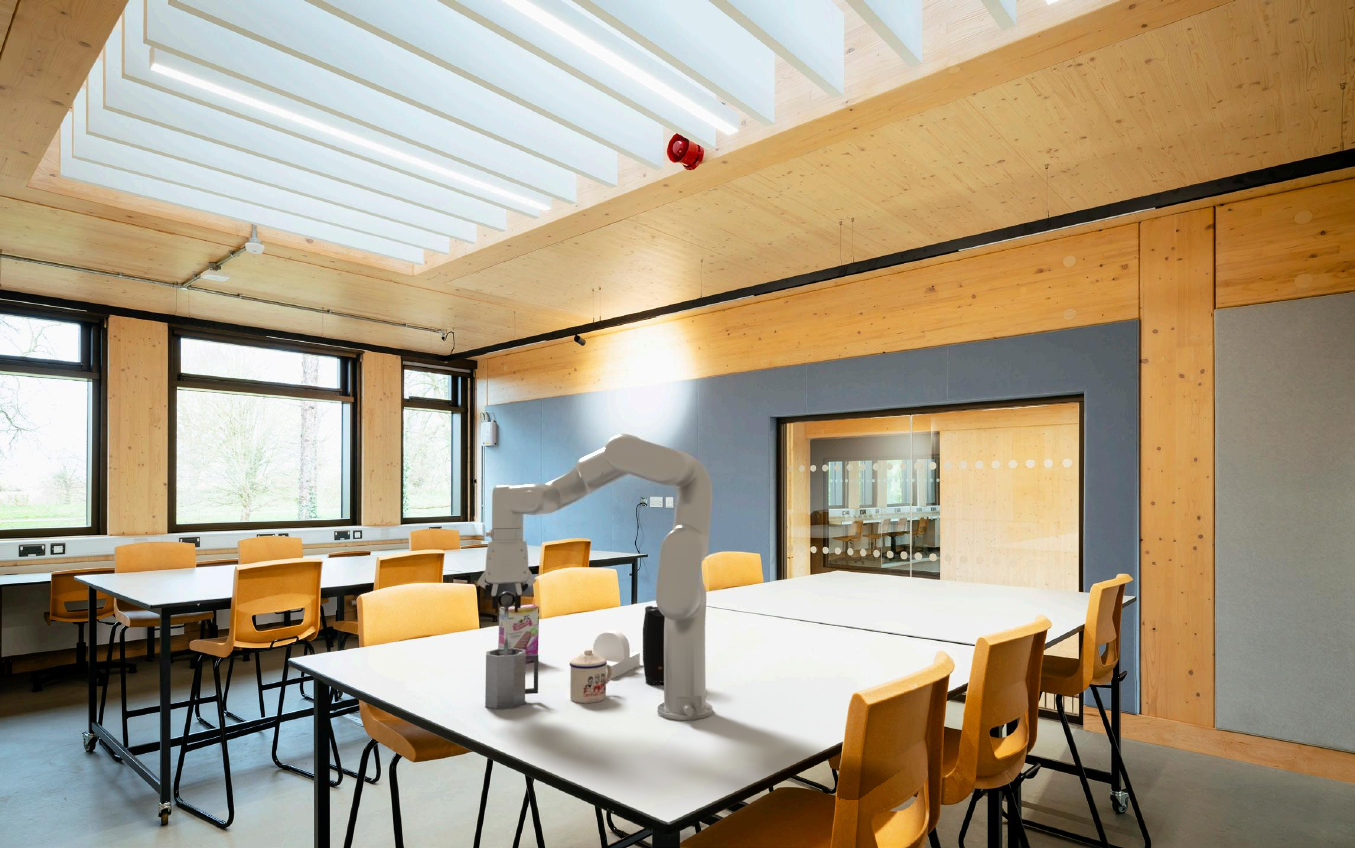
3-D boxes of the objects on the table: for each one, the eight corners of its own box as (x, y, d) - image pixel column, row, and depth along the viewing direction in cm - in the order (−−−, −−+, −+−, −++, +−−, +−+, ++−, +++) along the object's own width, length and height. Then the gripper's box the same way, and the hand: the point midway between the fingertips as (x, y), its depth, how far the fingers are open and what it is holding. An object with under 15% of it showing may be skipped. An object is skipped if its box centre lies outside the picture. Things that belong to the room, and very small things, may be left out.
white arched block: (612, 680, 201) (612, 638, 202) (580, 676, 205) (580, 635, 206) (640, 665, 218) (640, 627, 219) (610, 662, 221) (610, 625, 222)
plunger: (518, 662, 177) (519, 592, 179) (492, 663, 176) (493, 593, 177) (518, 656, 183) (519, 589, 184) (493, 658, 181) (494, 590, 183)
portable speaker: (670, 687, 192) (669, 610, 193) (637, 684, 195) (636, 608, 197) (682, 679, 200) (681, 605, 201) (650, 676, 203) (649, 604, 205)
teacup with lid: (585, 706, 176) (585, 655, 177) (561, 699, 182) (562, 650, 183) (623, 696, 184) (623, 647, 185) (599, 689, 191) (599, 642, 192)
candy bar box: (505, 667, 215) (506, 609, 217) (497, 664, 219) (498, 607, 221) (539, 661, 223) (539, 605, 224) (531, 658, 226) (531, 603, 228)
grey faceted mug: (538, 706, 176) (539, 654, 177) (484, 710, 173) (485, 657, 174) (536, 696, 185) (537, 646, 186) (485, 699, 182) (486, 649, 183)
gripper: (471, 537, 176) (470, 615, 175) (543, 535, 180) (542, 612, 179) (472, 535, 184) (471, 610, 182) (541, 534, 187) (540, 608, 186)
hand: (506, 611), depth 180 cm, fingers closed on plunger, 4 cm apart
